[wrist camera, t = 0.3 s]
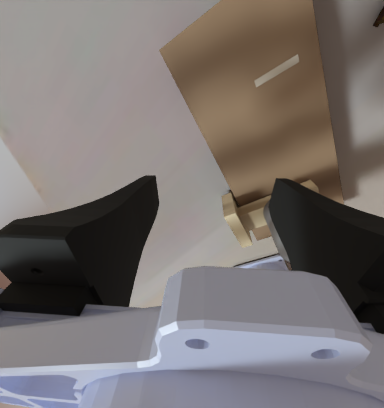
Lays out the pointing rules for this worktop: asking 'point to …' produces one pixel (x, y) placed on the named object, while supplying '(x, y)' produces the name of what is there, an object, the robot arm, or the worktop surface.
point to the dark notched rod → (379, 18)
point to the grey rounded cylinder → (254, 218)
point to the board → (259, 95)
